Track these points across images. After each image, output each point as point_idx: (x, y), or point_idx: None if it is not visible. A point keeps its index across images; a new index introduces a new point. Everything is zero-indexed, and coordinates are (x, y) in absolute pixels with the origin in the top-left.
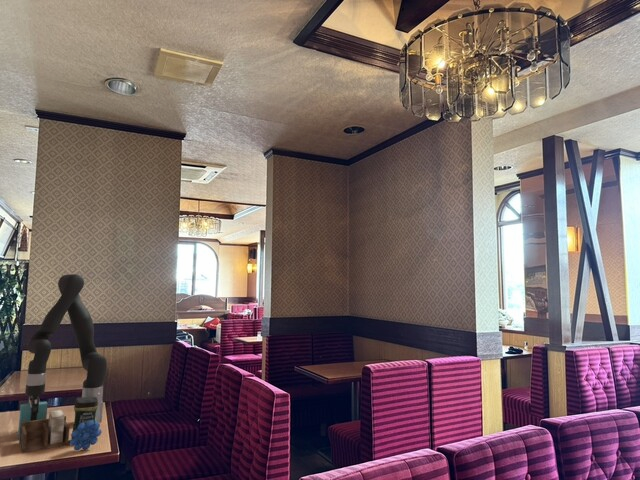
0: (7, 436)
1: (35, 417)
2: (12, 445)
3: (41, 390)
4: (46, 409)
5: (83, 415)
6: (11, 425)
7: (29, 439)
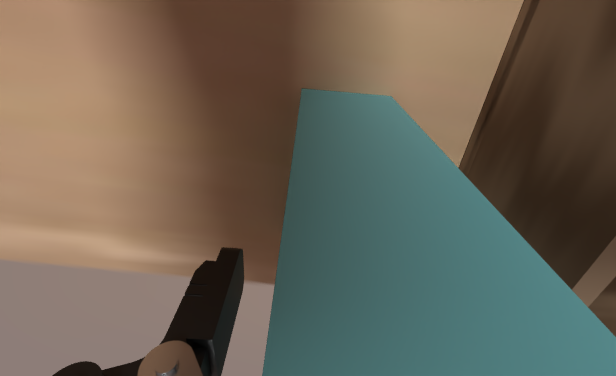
0: (255, 276)
1: None
2: None
3: None
4: (540, 275)
5: None
6: (11, 236)
7: None
